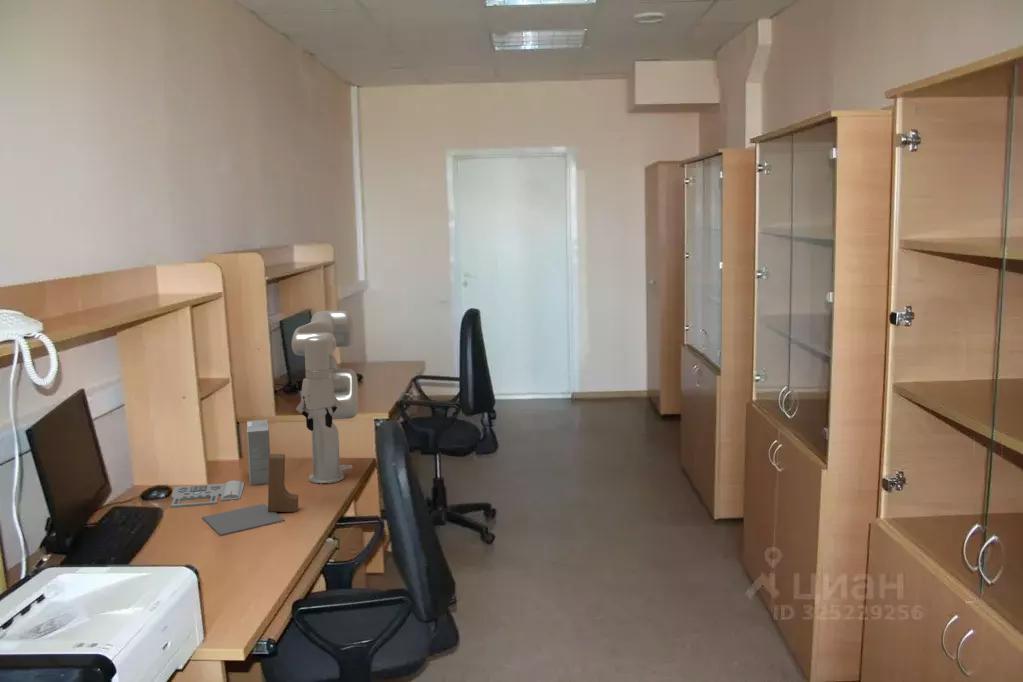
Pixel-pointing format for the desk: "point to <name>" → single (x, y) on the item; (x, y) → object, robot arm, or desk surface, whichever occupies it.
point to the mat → (242, 519)
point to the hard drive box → (258, 451)
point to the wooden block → (279, 487)
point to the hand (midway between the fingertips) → (319, 427)
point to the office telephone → (207, 493)
